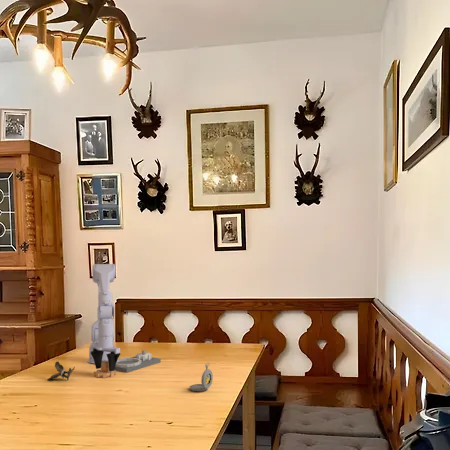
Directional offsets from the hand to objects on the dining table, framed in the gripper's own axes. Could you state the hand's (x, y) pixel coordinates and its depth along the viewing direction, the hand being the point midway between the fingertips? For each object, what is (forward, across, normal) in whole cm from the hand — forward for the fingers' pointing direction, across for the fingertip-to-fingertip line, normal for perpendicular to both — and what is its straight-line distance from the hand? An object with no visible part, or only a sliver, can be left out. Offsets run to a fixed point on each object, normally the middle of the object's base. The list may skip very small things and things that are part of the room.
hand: (105, 369), depth 184 cm
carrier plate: (+2, -2, +18) cm, 18 cm away
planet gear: (+2, 0, 0) cm, 2 cm away
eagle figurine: (+2, -10, -14) cm, 17 cm away
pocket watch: (+2, +44, +5) cm, 44 cm away
